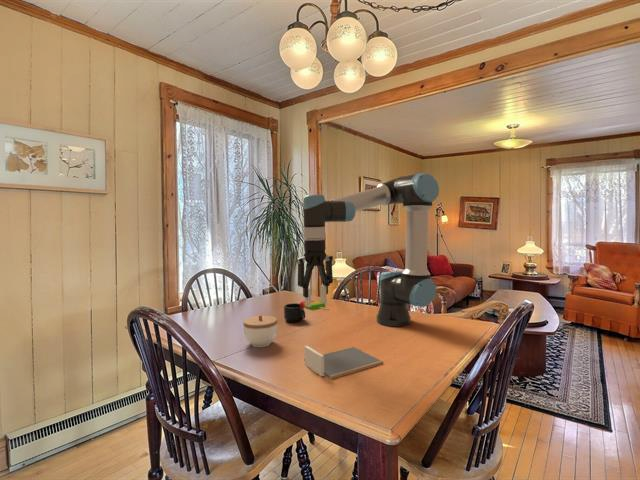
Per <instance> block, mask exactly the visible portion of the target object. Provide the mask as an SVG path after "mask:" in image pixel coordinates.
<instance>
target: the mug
mask: <svg viewBox="0 0 640 480" xmlns="http://www.w3.org/2000/svg"><path fill="white" fill-rule="evenodd" d="M283 312H284V313H283V314H284V315H283V316H284V317H283V318H284V320H285V321H287V322H288V323H299V322H301V321H303V320H304V319H306V312H305V308H302V307H300V303H295V302H294V303H288V304H287V303H286V304H284V306H283Z"/></svg>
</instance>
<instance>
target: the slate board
mask: <svg viewBox="0 0 640 480" xmlns="http://www.w3.org/2000/svg"><path fill="white" fill-rule="evenodd" d="M321 354H322V355H323V356H324V376H326V377H328V378H329V379H330V380H332V379H336V378H339V377H341V376H342V377H343V376H345V375H346V376H347V375H348V374H349V375H350V374H353V373H356V372H359V371H362V370H366V369H369V368H372V367H376V366H379V365H382V364H383V363H384V360H381V359H378V358H377V357H375V356H372V355H371V354H369V353H366V352H364V351H362V350H360V349H359V348H356V347H355V346H349V347H345V348H342V349H337V350H333V351H329V352H324V353H321ZM304 362H305V358H304Z"/></svg>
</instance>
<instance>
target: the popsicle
mask: <svg viewBox="0 0 640 480" xmlns="http://www.w3.org/2000/svg"><path fill="white" fill-rule="evenodd" d="M299 304H300V307H302V308H304V310H305V309H306V310H309V311H316V310H324V311H329V310H330V308H327V307H326V304H324V303H321V301H320V302H319V301H315V300H312V299H311V307H307V306H305V300H304V301H303V300H302V301H300V302H299Z"/></svg>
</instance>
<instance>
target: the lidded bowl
mask: <svg viewBox="0 0 640 480" xmlns="http://www.w3.org/2000/svg"><path fill="white" fill-rule="evenodd" d="M243 331H244V336H245V340H246V341H247V342H248V343H249V344H250V345H251V346H252V347H255V348H265V347H268V346H270V345H271V343H272V342H273V341H274V340H275V338H276V335H277V332H278V318H277V317H275V316H271V315H262V314H259V315H256V316H255V315H254V316H250V317H247V318H245V319H244V320H243Z"/></svg>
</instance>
